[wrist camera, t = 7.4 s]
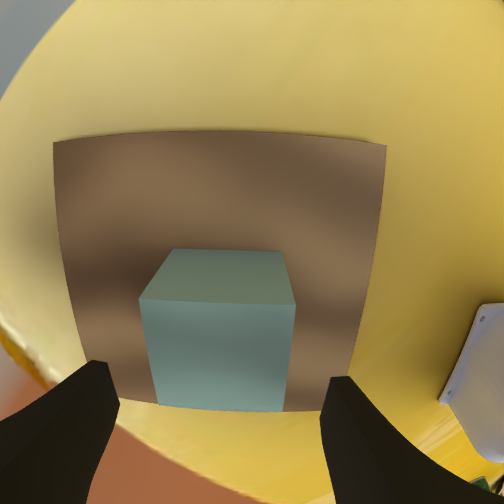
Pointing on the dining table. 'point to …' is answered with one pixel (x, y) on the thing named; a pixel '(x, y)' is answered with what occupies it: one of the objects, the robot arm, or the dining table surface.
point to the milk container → (500, 489)
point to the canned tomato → (481, 483)
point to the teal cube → (219, 329)
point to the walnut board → (219, 236)
